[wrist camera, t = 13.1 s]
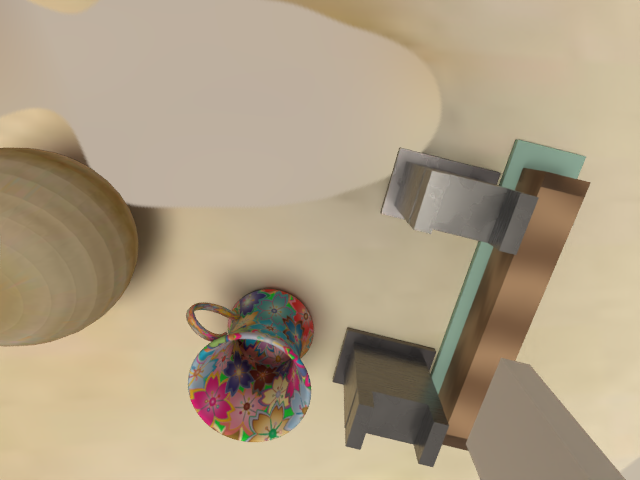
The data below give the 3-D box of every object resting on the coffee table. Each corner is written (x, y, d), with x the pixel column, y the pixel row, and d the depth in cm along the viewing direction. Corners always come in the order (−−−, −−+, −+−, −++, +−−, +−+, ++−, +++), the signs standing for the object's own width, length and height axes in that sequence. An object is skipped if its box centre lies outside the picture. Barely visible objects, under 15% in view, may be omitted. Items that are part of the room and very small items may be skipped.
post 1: (347, 327, 39) (350, 389, 30) (434, 348, 39) (465, 417, 30) (332, 378, 41) (330, 453, 31) (416, 398, 41) (440, 479, 31)
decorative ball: (89, 110, 35) (-87, 92, 21) (199, 241, 38) (112, 306, 23) (-18, 209, 38) (-238, 254, 23) (92, 324, 41) (-46, 429, 26)
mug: (337, 328, 39) (336, 395, 29) (272, 382, 41) (250, 463, 31) (251, 243, 37) (218, 283, 27) (188, 303, 39) (134, 362, 29)
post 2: (399, 147, 35) (422, 151, 25) (498, 172, 35) (559, 185, 25) (380, 212, 36) (395, 240, 26) (475, 236, 36) (524, 272, 27)
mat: (515, 139, 34) (518, 139, 33) (582, 156, 34) (586, 156, 34) (412, 423, 42) (413, 426, 41) (467, 436, 42) (468, 440, 41)
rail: (523, 167, 34) (546, 171, 30) (562, 177, 34) (590, 182, 30) (430, 414, 41) (440, 443, 37) (463, 422, 41) (476, 452, 37)
